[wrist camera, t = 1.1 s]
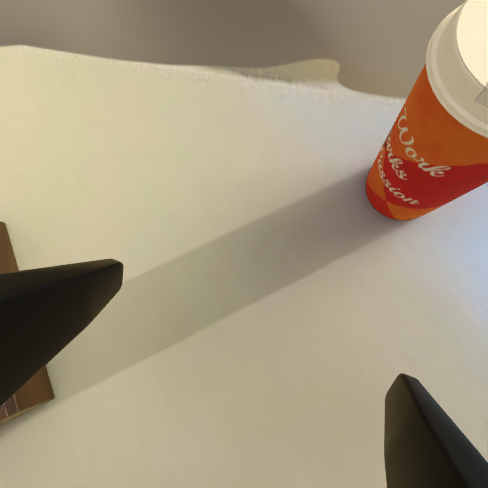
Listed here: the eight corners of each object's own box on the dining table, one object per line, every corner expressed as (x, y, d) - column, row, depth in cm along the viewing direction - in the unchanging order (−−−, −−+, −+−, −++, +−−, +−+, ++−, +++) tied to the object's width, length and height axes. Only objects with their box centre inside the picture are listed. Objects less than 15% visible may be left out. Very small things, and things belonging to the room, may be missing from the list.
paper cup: (351, 146, 26) (435, -37, 12) (445, 146, 25) (647, -51, 11) (352, 233, 24) (452, 131, 11) (454, 236, 23) (703, 130, 10)
